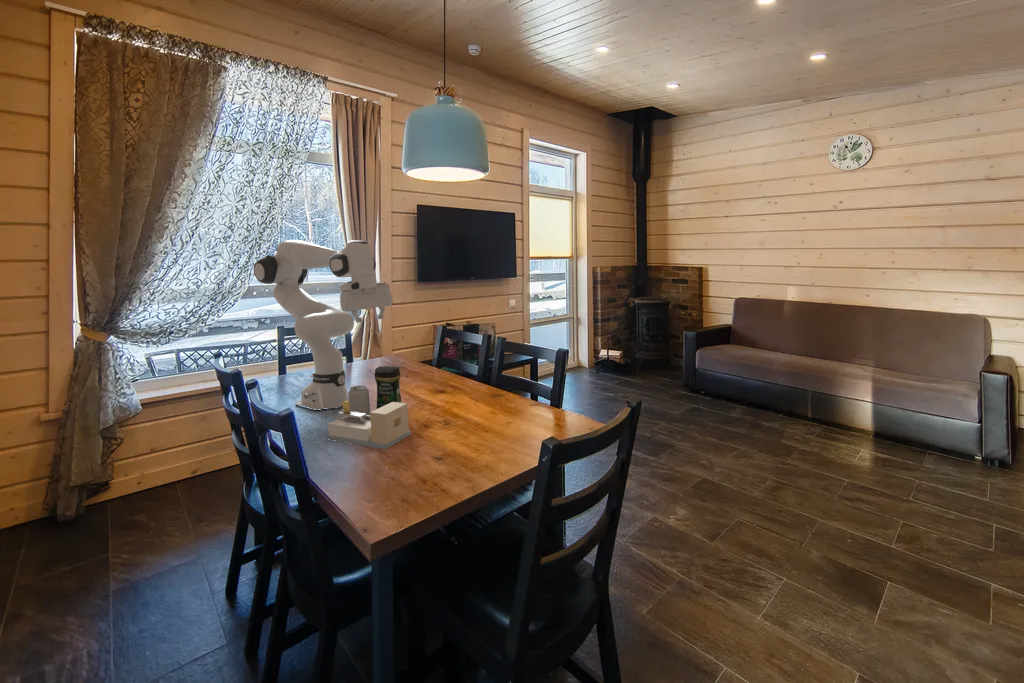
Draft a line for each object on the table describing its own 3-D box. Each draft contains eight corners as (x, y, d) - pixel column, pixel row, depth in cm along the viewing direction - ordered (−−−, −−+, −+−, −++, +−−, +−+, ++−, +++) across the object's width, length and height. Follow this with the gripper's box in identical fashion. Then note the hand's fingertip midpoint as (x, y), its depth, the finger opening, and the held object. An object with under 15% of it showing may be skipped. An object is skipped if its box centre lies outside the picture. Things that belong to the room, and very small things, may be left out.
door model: (327, 440, 166) (324, 407, 163) (355, 426, 178) (352, 396, 176) (385, 449, 156) (383, 415, 154) (410, 434, 169) (408, 402, 167)
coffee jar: (374, 415, 191) (370, 368, 187) (381, 408, 198) (378, 364, 195) (398, 415, 189) (395, 369, 186) (404, 409, 197) (402, 364, 194)
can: (349, 415, 190) (347, 385, 188) (369, 413, 193) (367, 383, 191) (350, 421, 184) (348, 390, 181) (371, 419, 186) (369, 388, 184)
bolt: (337, 418, 169) (335, 401, 168) (343, 415, 172) (342, 399, 171) (360, 421, 166) (359, 404, 165) (366, 419, 168) (365, 402, 167)
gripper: (383, 282, 192) (388, 317, 194) (335, 287, 177) (341, 324, 179) (393, 281, 188) (398, 316, 190) (344, 285, 173) (350, 324, 175)
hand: (370, 320), depth 184 cm, fingers open, 8 cm apart
